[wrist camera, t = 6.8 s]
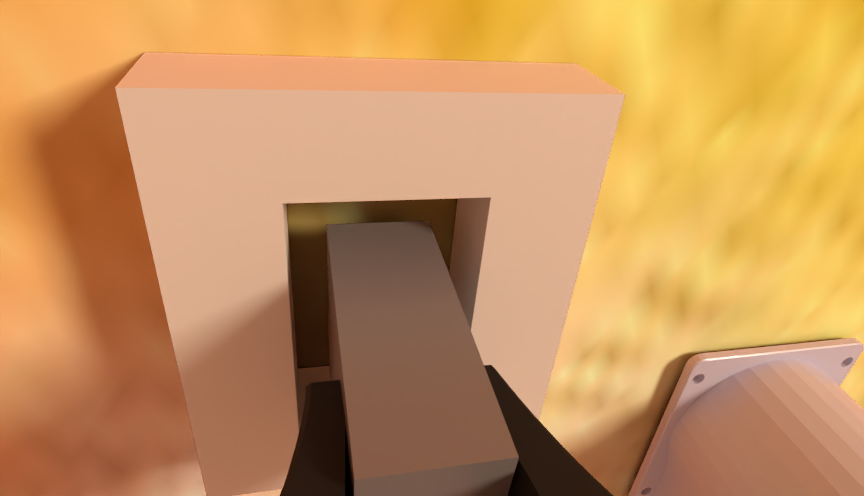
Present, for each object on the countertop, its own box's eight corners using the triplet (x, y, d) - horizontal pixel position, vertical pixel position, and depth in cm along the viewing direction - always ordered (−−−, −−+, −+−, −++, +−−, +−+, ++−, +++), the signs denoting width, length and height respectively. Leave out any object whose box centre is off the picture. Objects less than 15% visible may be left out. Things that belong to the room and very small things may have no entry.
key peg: (428, 220, 14) (522, 467, 9) (414, 361, 17) (477, 615, 12) (326, 224, 14) (355, 492, 8) (329, 369, 17) (353, 640, 11)
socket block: (505, 397, 20) (529, 454, 18) (216, 429, 18) (207, 499, 16) (576, 63, 14) (625, 94, 12) (144, 52, 12) (115, 87, 10)
